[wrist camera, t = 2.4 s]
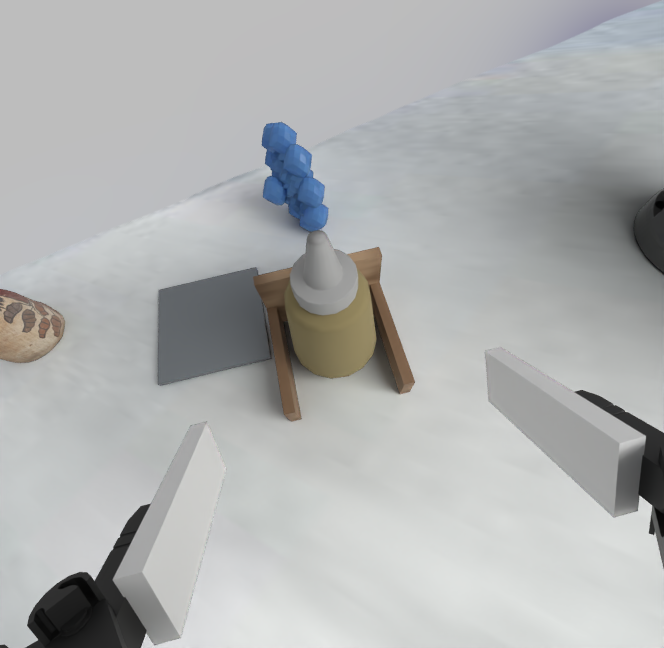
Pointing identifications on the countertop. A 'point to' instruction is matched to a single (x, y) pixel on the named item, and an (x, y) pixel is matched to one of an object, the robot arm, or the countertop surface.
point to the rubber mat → (210, 327)
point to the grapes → (292, 177)
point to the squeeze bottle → (329, 310)
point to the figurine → (27, 328)
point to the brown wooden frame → (274, 300)
